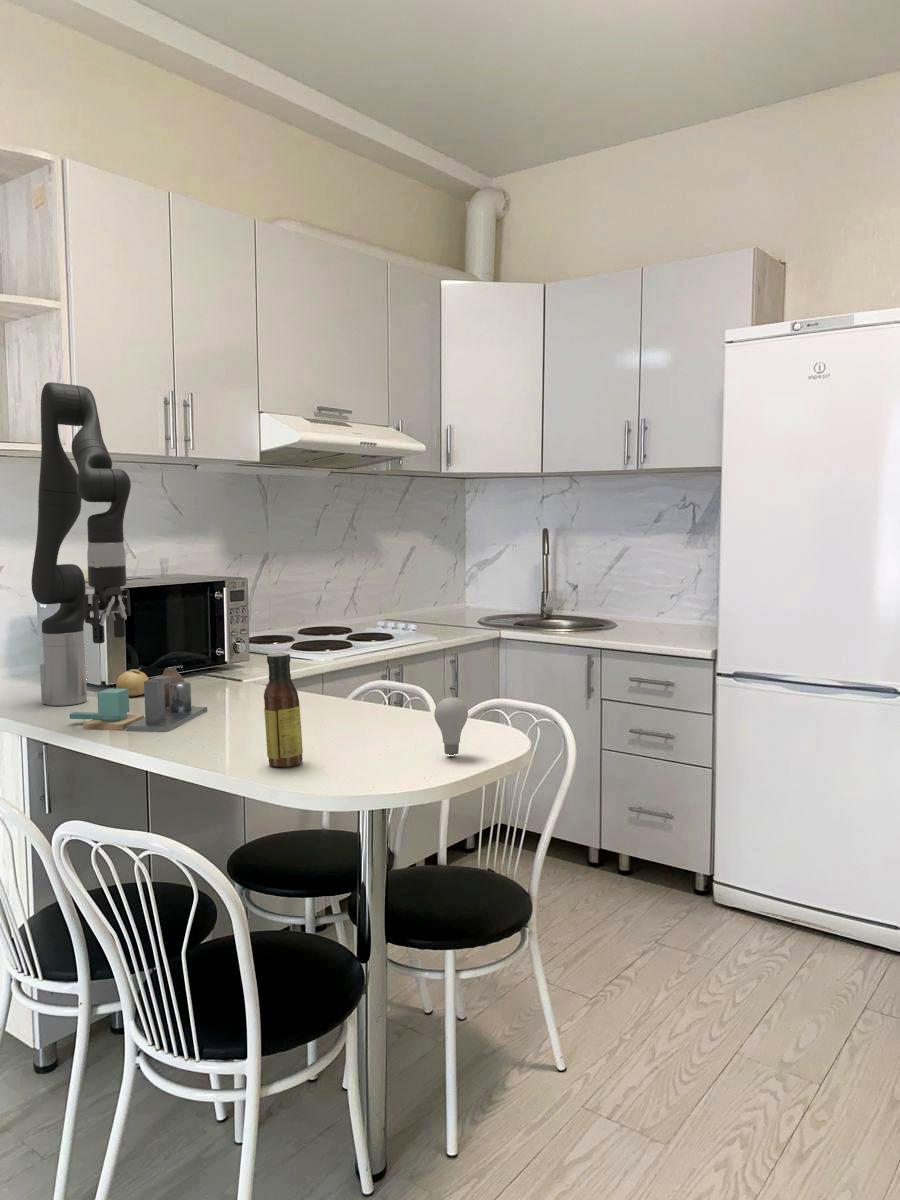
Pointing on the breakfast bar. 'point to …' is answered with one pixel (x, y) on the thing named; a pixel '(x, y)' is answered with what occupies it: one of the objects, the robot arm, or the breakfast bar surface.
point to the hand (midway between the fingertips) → (109, 640)
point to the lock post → (155, 706)
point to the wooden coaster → (112, 723)
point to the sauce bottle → (282, 714)
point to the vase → (175, 678)
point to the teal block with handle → (108, 706)
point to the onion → (132, 682)
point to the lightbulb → (451, 722)
